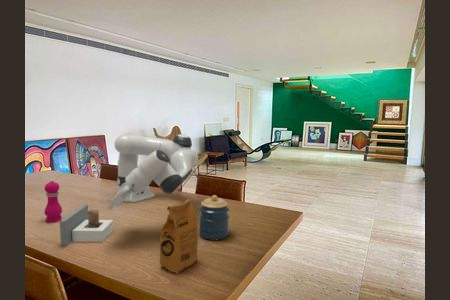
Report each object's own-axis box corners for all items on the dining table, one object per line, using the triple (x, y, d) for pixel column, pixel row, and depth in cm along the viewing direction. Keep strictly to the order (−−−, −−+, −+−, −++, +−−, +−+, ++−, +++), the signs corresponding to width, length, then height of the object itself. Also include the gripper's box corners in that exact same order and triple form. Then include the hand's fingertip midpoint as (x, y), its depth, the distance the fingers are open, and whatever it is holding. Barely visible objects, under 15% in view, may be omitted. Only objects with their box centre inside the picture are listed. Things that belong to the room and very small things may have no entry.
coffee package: (155, 266, 100) (155, 204, 97) (181, 252, 110) (181, 196, 107) (175, 276, 94) (176, 211, 91) (201, 261, 104) (202, 201, 101)
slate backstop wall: (88, 225, 132) (87, 204, 131) (66, 246, 113) (65, 221, 111) (84, 225, 132) (83, 204, 131) (61, 246, 112) (59, 221, 111)
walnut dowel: (97, 231, 125) (96, 209, 124) (100, 234, 123) (100, 211, 121) (87, 233, 123) (86, 210, 122) (90, 236, 120) (89, 213, 119)
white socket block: (113, 230, 129) (113, 219, 128) (102, 242, 117) (102, 231, 116) (86, 230, 129) (85, 219, 128) (72, 242, 117) (72, 230, 116)
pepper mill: (44, 224, 133) (41, 181, 131) (45, 218, 140) (43, 178, 137) (62, 221, 137) (60, 180, 134) (62, 216, 143) (60, 176, 140)
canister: (217, 244, 118) (218, 201, 115) (192, 236, 124) (193, 196, 122) (234, 233, 128) (235, 194, 126) (210, 226, 135) (210, 189, 133)
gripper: (135, 194, 110) (110, 219, 111) (147, 181, 130) (126, 202, 131) (122, 182, 109) (97, 207, 110) (137, 171, 129) (115, 192, 130)
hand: (113, 204), depth 121 cm, fingers open, 8 cm apart
